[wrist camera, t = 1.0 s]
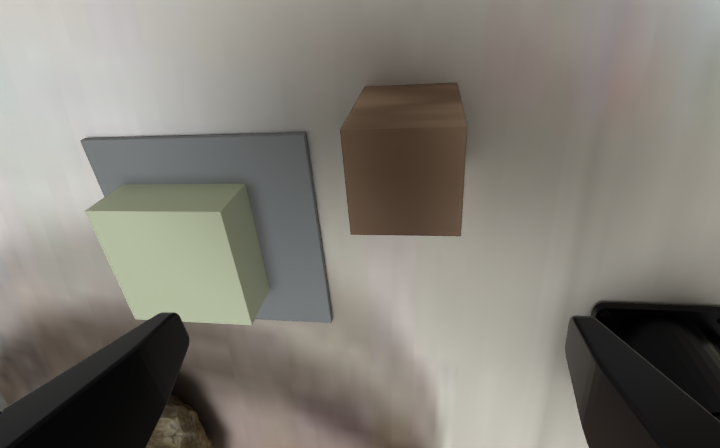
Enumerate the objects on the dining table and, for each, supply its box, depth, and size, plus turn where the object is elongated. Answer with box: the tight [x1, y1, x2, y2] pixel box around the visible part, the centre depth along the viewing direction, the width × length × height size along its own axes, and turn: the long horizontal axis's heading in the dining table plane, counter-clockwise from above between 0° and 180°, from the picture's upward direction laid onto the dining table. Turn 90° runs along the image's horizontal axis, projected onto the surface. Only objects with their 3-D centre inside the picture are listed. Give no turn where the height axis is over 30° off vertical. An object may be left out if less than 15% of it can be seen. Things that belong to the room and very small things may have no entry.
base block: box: [85, 184, 270, 325], centre depth 23 cm, size 7×7×3 cm
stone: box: [146, 395, 213, 448], centre depth 32 cm, size 13×8×8 cm
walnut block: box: [340, 83, 467, 236], centre depth 17 cm, size 4×4×6 cm
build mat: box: [81, 132, 333, 323], centre depth 24 cm, size 12×12×1 cm
